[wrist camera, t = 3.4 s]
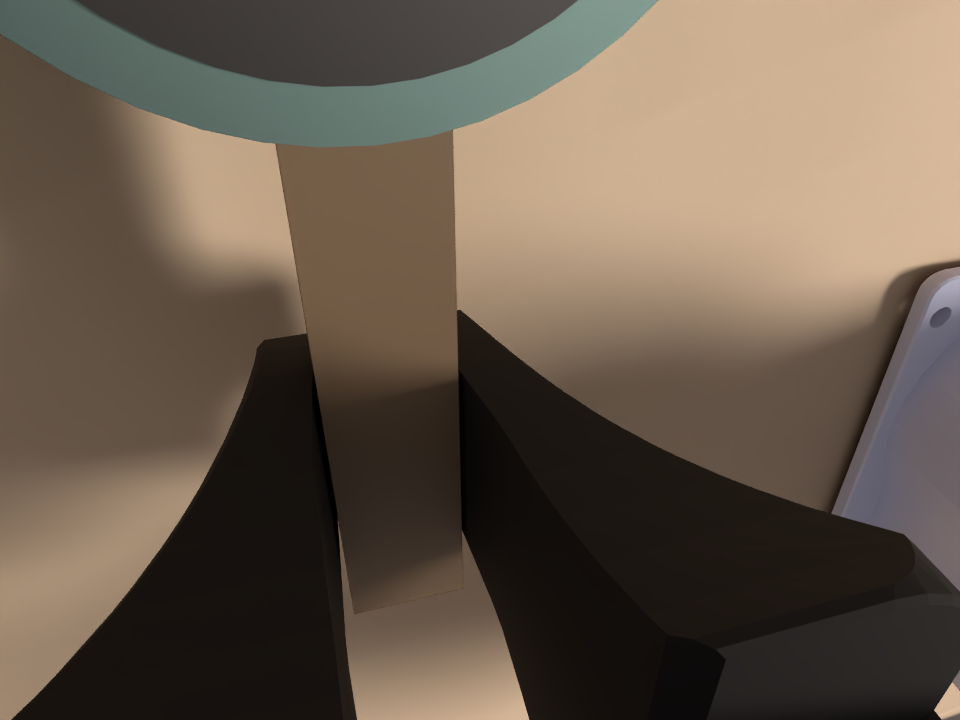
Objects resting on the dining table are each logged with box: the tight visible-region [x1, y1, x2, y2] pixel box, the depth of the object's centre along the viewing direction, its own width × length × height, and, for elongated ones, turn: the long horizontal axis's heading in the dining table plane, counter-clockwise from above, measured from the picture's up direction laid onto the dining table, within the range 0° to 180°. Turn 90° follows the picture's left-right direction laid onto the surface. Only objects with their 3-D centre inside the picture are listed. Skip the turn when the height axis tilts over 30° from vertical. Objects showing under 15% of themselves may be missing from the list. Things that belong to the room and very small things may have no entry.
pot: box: [0, 0, 658, 614], centre depth 8 cm, size 14×7×5 cm, turn 0°
